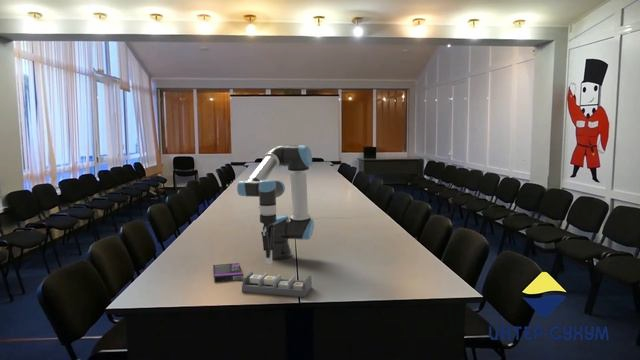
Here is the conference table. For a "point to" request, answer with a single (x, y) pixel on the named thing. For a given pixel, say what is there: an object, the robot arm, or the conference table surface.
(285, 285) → the key
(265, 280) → the key
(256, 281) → the key
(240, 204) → the conference table surface
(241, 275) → the box
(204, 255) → the conference table surface
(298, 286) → the key
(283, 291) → the keypad
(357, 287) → the conference table surface
